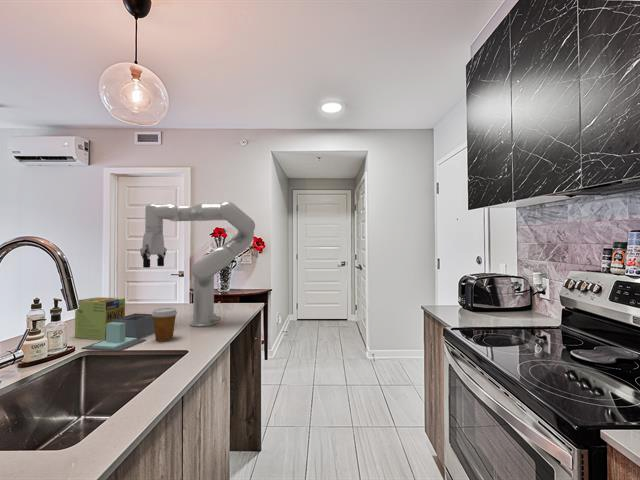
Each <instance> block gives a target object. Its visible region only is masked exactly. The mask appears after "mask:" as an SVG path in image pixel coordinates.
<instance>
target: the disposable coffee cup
mask: <svg viewBox="0 0 640 480" xmlns="http://www.w3.org/2000/svg"><path fill="white" fill-rule="evenodd" d="M151 314H152V316H153V322H154V330H155V333H154V335H155V341H156V342H168V341H171V340H173V338H174V333H175V331H174V330H175V324H176V316H177V314H178V311H177V309H176V308H174V307H163V308H157V309H154V310H152V313H151Z"/></svg>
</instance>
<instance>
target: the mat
mask: <svg viewBox="0 0 640 480" xmlns="http://www.w3.org/2000/svg"><path fill="white" fill-rule="evenodd" d="M103 341H106V340H101V341H97V342H95V343H91V344H89V345H85V346H84V347H83V346H82V347H81V350H92V351H94V350H95V351H104V352H118V353H119V352H122V351H124V350H127V349H130V348H132V347H134V346H137V345H139V344H142V343H143V342H146V341H147V339H143V338H140V339H137V340H136V341H133V342H131V343H128V344H126V345H123V346H121V347H118V348H116V349H109V348H94V347H92V345H94V344H97V343H100V342H103Z"/></svg>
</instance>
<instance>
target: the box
mask: <svg viewBox="0 0 640 480" xmlns="http://www.w3.org/2000/svg"><path fill="white" fill-rule="evenodd" d="M112 322H118V323H125V337H130V338H137V339H143V338H145V337H147V336H149V335H153V334H155V330H154V322H153V316H152V313H138V312H136V313H131V314H128V315H125V316H124V317H120V318H117V319H113V320H112Z"/></svg>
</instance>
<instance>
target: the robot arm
mask: <svg viewBox="0 0 640 480" xmlns="http://www.w3.org/2000/svg"><path fill="white" fill-rule="evenodd" d="M144 210H145V215H144V216H145V217H144V221H145V223H144V225H145V226H144V230H145V231H144V233H143V237H142V247H141V248H140V249H139V252H140V256H141V257H142V259H143V260H142V267H143V269H144V268H145V269H149V268H151V256H152V255H157V260H156V261H157V267H164V266H165V257H166V254H167V248H166V247H165V240H164V239H165V238H164V220H169V221H171V222H195V221H196V222H197V221H198V222H202V221H203V222H204V221H205V222H206V221H209V222H210V221H227V223H229V224H230V225H231V226H233V227H234V228H235V230H237V233H236V235H235V236H233V237H232V238H231V239H230V240H228V241H227V242H225V243H224V244H222V245H221V246H218V247H216V248H215V249H213V250H212V251H211V252H209V253H208V254H206V255H205V256H203V257H202V258H201V259H199V260H198V261H196V262H195V263H194V264H193V265H192V269H191V273H192V276H193V292H192V293H193V304H192V305H193V306H192V307H193V309H192V310H193V313H192V319H193V320H191V321H190V322H189V326H191V327H197V328H198V327H199V328H200V327H210V326H214V325H216V324H217V323H218V322H221V321H222V320H221V319H222V318H221V316H217V313H214V312H215V306H214V305H215V301H214V300H215V275H216V274H218V273H219V272H220V271H222V270H224V269H225V268H226V267H228V266H229V265H230V264H231V263H232V261H233V260H234V259H235V258H236V257H237V256H239V255H240V254H242V253H243V252H244V251H245V250H247V249H248V248H249V247H250V245H251V244H252V242H253V240H254V236H255V229H256V224H255V221H254V220H253V219H252V217H250V215H248V214H246V212H244V211H243V210H242V209H241V208H240V207H238V206H237V204H235V203H233V202H231V201H224V202H218V203H217V202H216V203H215V202H214V203H209V202H208V203H198V204H196V205H188V206H186V205H185V206H184V205H183V206H177V205H175V204H174V203H167V204H156V203H155V204H153V203H150V204H147V205H145V209H144Z"/></svg>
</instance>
